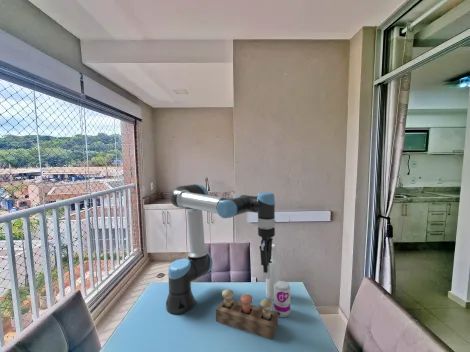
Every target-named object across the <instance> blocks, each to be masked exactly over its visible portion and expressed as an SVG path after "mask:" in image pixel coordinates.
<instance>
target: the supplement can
mask: <svg viewBox="0 0 470 352" xmlns="http://www.w3.org/2000/svg"><path fill="white" fill-rule="evenodd" d="M273 311H276V312H278V317H280V318H286V317H288V316H290V315H291V287H290V283H289V282H287V281H285V280H279V281H276V282H275V284H274V300H273Z"/></svg>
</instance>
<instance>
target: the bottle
mask: <svg viewBox="0 0 470 352" xmlns="http://www.w3.org/2000/svg"><path fill="white" fill-rule="evenodd" d="M276 249H277V247H276V244H274V243H272V255H271V260H270V261H272V263H270V278H269V279H265V296H266V297H267V298H266V299H269V300H271V301H274V284H275V282H276V281H280V260H279V258H278V257H277V256H276V255H277V251H276Z"/></svg>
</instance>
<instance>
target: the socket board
mask: <svg viewBox="0 0 470 352" xmlns="http://www.w3.org/2000/svg"><path fill="white" fill-rule="evenodd" d="M231 305H232V306H231V308H229V309H227V308H225V307H224V299H223V300H222V302H221V303H219V305H218V306H217V307H216V309H215V321H216V322H218V323H220V324H221V323H222V324H224V325H226V326H229V327H233V328H236V329H239V330H242V331H245V332H248V333H251V334H254V335H257V336H260V337H263V338H265V339H270V340H273V339H274V336H275V333H276V330H277V327H278V324H279V320H278V319H279V316H278V312H276V311H274V310H272V309H271V319H270V320H265V319H263V309H262V308H261V306H257V305H253V304H250V313H249V314H244V313H243V303H241V301H239V300H235V299H233V298H231Z"/></svg>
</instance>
